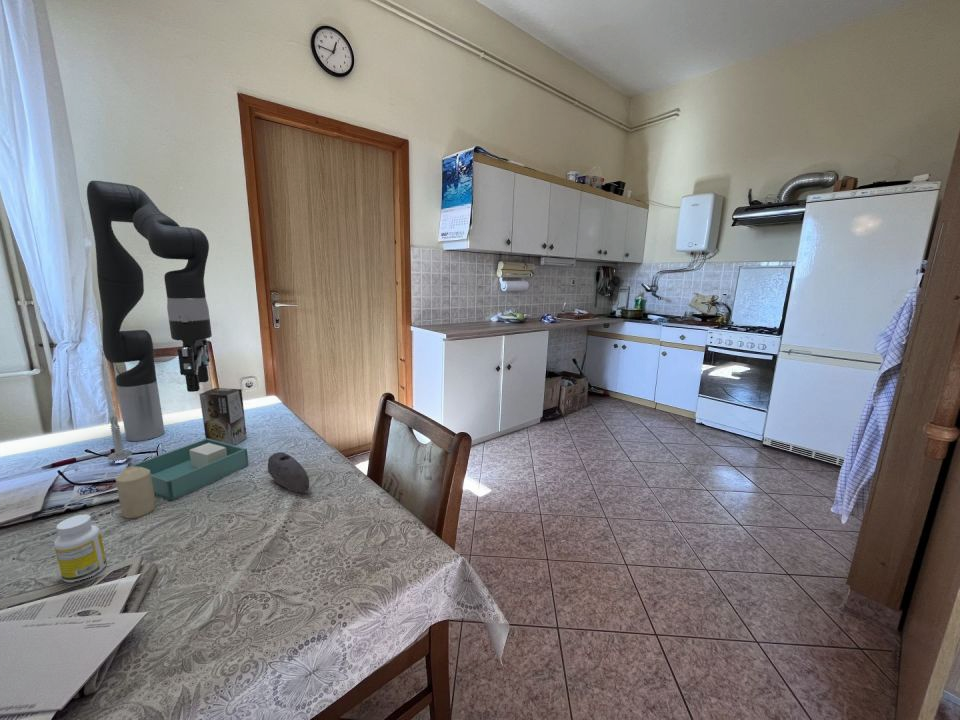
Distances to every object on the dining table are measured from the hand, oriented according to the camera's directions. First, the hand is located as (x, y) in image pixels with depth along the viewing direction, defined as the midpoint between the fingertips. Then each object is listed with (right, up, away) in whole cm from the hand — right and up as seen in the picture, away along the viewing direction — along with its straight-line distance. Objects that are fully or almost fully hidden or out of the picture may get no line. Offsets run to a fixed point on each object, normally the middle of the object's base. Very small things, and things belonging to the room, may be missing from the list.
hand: (198, 386), depth 91 cm
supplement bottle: (-1, -30, -25) cm, 39 cm away
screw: (-31, -22, +13) cm, 40 cm away
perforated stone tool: (+20, -25, +4) cm, 32 cm away
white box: (-5, -22, +12) cm, 26 cm away
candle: (-7, -27, -8) cm, 29 cm away
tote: (-7, -23, +8) cm, 25 cm away
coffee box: (-12, -19, +28) cm, 36 cm away
